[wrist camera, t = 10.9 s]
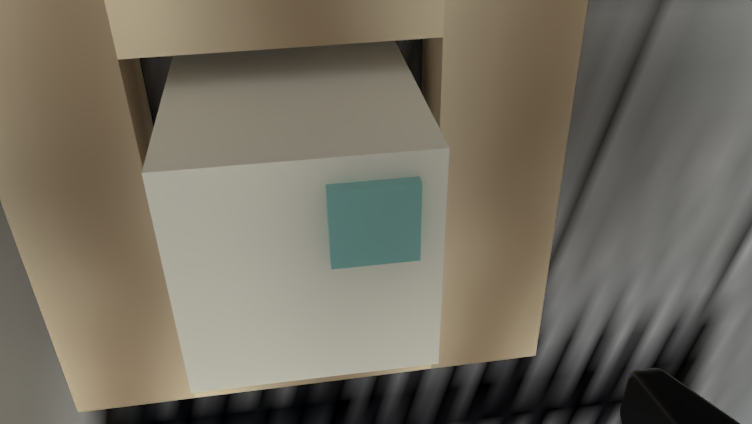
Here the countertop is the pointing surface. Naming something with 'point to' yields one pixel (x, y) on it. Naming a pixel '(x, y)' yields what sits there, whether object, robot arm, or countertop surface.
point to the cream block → (298, 213)
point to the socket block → (259, 32)
